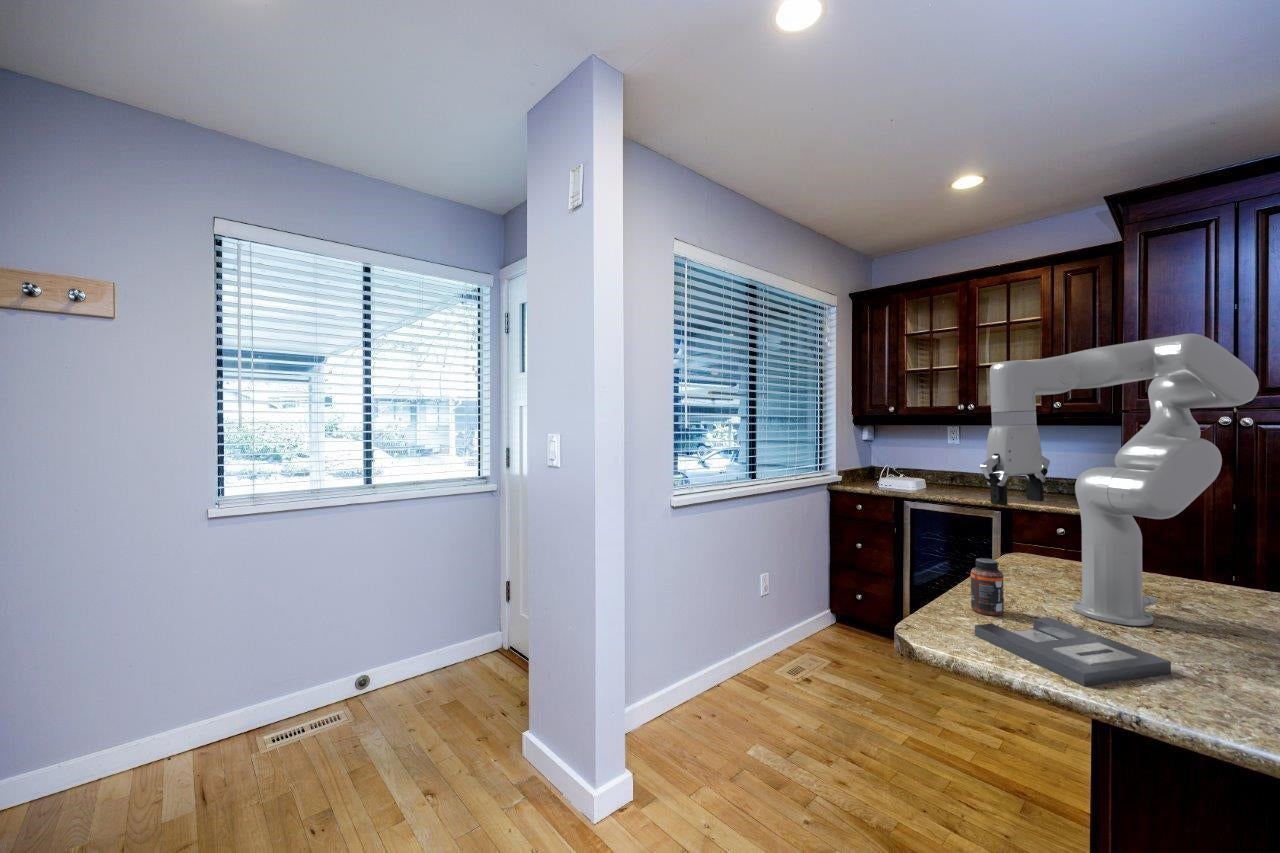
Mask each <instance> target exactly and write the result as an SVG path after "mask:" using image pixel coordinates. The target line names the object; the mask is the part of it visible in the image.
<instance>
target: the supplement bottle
mask: <svg viewBox="0 0 1280 853" xmlns="http://www.w3.org/2000/svg"><path fill="white" fill-rule="evenodd" d="M1004 593H1005V592H1004V574H1003V573H1002V571H1000V570H999V565H998V561H997V560H995V559H991V558H985V557H984V558H982V557H980V558H979V557H978V558H976V559H975V567H973V568H972V569H971V570H970V605H971V610H972V611H974V612H976V613H978V614H980V615H986V616H993V617H994V616H995V617H997V616H1001V615H1003V614H1004V611H1005V610H1004V609H1005V608H1004V602H1005V601H1004V599H1005V598H1004V596H1005V595H1004Z"/></svg>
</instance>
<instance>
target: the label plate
mask: <svg viewBox="0 0 1280 853" xmlns="http://www.w3.org/2000/svg"><path fill="white" fill-rule="evenodd" d="M1032 624H1033V625H1032V626H1033V629H1028V630H1019V631H1010V630H1008V629H1006V628H1003V627H1001V626H998V625H996V624H994V623H985V624H984V623H983V624H975V625H974V636H975V637H977V638H980V639H981V640H983V641H985V642H988V643H990V644H992V645H994V646H996V647H998V648H1001V649H1003V650H1005V651H1008V652H1009V653H1012V654H1014V655H1016V656H1018V657H1020V658H1023V659H1024V660H1027V661H1029V662H1031V663H1033V664H1035V665H1038V666H1039V667H1042V668H1044V669H1045V670H1048V671H1049V672H1053V673H1054V674H1057V675H1059V676H1061V677H1062V678H1066V679H1067V680H1069V681H1071V682H1074V683H1077V684H1078V685H1080V686H1082V687H1088V686H1096V685H1101V684H1109V683H1115V682H1116V683H1117V682H1122V681H1123V682H1124V681H1130V680H1135V679H1136V680H1137V679H1142V678H1150V677H1157V676H1164V675H1171V674H1172V661H1171V660H1168V659H1166V658H1163V657H1160V656H1157V655H1154V654H1151V653H1148V652H1147V651H1143V650H1141V649H1138V648H1136V647H1135V648H1134V647H1132V646H1130V645H1127V644H1123V643H1121V642H1119V641H1116V640H1113V639H1111V638H1107V637H1105V636H1103V635H1099V634H1096V633H1093V632H1092V631H1088V630H1085V629H1082V628H1080V627H1078V626H1075V625H1072V624H1068V623H1066V622H1064V621H1061V620H1058V619H1055V618H1053V617H1039V618H1033V620H1032Z"/></svg>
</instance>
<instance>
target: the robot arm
mask: <svg viewBox="0 0 1280 853" xmlns="http://www.w3.org/2000/svg"><path fill="white" fill-rule="evenodd" d="M1151 379H1152V380H1151ZM1146 380H1151V382H1150V384H1149V386H1148V389H1147V395H1148V396H1147V397H1148V401H1149V402H1148V404H1149V408H1150V419H1149V421H1148V422H1147V423H1146V424H1145V425H1143V427H1142V428H1141V429H1140V430H1139V431H1138V432H1137V433H1136V434H1135V435H1133V436H1132V437H1131V438H1130V439H1129V440H1128V441H1127V442H1126V443H1125V444H1123V446H1121V447H1120V449H1119V450H1118V451H1117V453H1116V455H1115V458H1114V464H1115V467H1112V466H1110V467H1109V466H1100V467H1099V466H1097V467H1093V468H1092V467H1091V468H1089V469H1087V470H1084V471H1083V472H1082V473H1080V474H1079V476H1077V479H1076V481H1075V485H1074V492H1075V497H1076V500H1077V504H1078V507H1079V508H1078V509H1079V512H1080V513H1079V514H1080V520H1081V521H1080V522H1081V523H1080V524H1081V582H1082V583H1081V587H1082V588H1081V589H1082V590H1081V593H1082V594H1081V598H1082V599H1081V600H1076V601H1074V602H1073V604H1072V609H1073V610H1074V611H1075V612H1076V613H1079V614H1080V615H1083V616H1084V617H1088V618H1090V619H1094V620H1097V621H1102V622H1105V623H1111V624H1116V625H1117V624H1118V625H1124V626H1134V627H1135V626H1136V627H1142V626H1146V627H1147V626H1151V625H1152V624H1154V616H1153V615H1152V614H1151V613H1149V612H1148V611H1145V610H1146V609H1145V608H1146V607H1149V606H1155V605H1156V604H1157V603H1158V600H1157V598H1156V597H1154V596H1152V595H1144V594H1143V593H1144V592H1143V535H1142V531H1141V528H1140V526H1139V525H1138V523H1137V522H1136V520H1135V518H1134V517H1139V518H1147V519H1153V520H1165V519H1167V520H1168V519H1170V518H1174V517H1175V516H1177V515H1179V514H1180V513H1181V512H1183V511H1184V510H1185V509H1186V508H1187V507H1189V505H1191V503H1193V502H1194V501H1195V500H1196V499H1197V498H1198V497H1199V496H1200V495H1202V493H1203V492H1204V491H1205V490H1206V489H1208V487H1210V485H1212V483H1213V482H1215V481H1216V479H1217V477H1218V476H1219V474H1220V472H1221V468H1222V465H1223V463H1222V462H1223V458H1222V454H1221V451H1220V450H1219V448H1218V446H1216V445H1215V444H1214V443H1213V442H1211V441H1209V440H1207V439H1205V438H1201V433H1202V432H1201V431H1202V430H1201V428H1200V425H1199V424H1198V422H1197V421H1196V420H1195V418H1194V417H1193V414H1192V413H1191V410H1190V409H1198V408H1199V409H1203V408H1228V407H1238V406H1242V405H1245V404H1247V403H1249V402H1251V401H1252V400H1253V399H1255V398H1256V396H1257V395H1258V392H1259V387H1260V386H1259V385H1260V384H1259V380H1258V377H1257V375H1256V374H1255V372H1254V371H1253V370H1252V369H1251V367H1249V366H1248V365H1247V364H1246V363H1244V362H1243V361H1242V360H1240V358H1238V357H1236V355H1233V354H1232V352H1230V351H1229V350H1228V349H1226V348H1225V347H1223V346H1222V345H1220V344H1219V343H1218V342H1216V341H1214V340H1212V339H1211V338H1209V337H1207V336H1204V335H1202V334H1197V333H1183V334H1177V335H1170V336H1164V337H1157V338H1151V339H1144V340H1137V341H1136V340H1135V341H1131V342H1125V343H1117V344H1111V345H1106V346H1099V347H1094V348H1089V349H1084V350H1079V351H1075V352H1071V353H1067V354H1062V355H1057V356H1051V357H1046V358H1040V359H1033V360H1027V359H1017V360H1015V359H1014V360H1006V361H1000V362H999V361H998V362H996V363H993V364H991V366H990V367H989V388H990V389H989V390H990V408H991V409H990V410H991V411H990V412H991V427H989V431H988V434H987V440H986V459H985V461H984V462H983V463H981V464H980V466H979V467H980V470H981V472H982V474H983V478H984V480H986V481H987V482H986V483H987V485H988V486H989V487H990V488H989V489H990V503H991V504H992V505H997V506H1002V507H1003V506H1004V507H1005V506H1008V504H1009V503H1008V487H1007V485H1005V484H1006V482H1007V480H1008V478H1009V477H1015V476H1025V477H1026V479H1027V480H1026V481H1025V492H1026V496H1025V497H1026V500H1028V501H1033V502H1044V501H1045V496H1044V495H1045V494H1044V482H1045V481H1046V476H1047V474H1048V468H1049V465H1050V464H1051V462H1050V459H1049V458H1047V457H1045V456H1043V452H1042V444H1041V438H1040V434H1039V428H1038V425H1037V423H1038V422H1037V411H1036V410H1037V405H1036V404H1037V402H1036V396H1047V395H1048V396H1049V395H1058V394H1064V393H1067V392H1069V391H1072V390H1078V389H1079V390H1081V389H1083V390H1084V389H1096V388H1107V387H1112V386H1116V385H1122V384H1129V383H1133V382H1140V381H1146ZM1133 516H1134V517H1133Z"/></svg>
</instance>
